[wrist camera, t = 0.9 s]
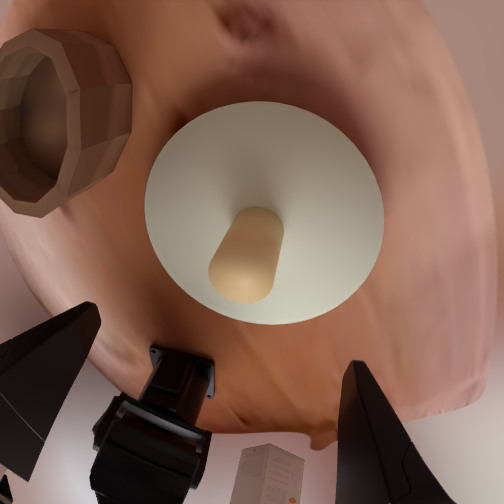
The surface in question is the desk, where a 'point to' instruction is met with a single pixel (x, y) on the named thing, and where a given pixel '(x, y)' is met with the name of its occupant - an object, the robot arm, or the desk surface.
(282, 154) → the lid
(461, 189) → the desk surface
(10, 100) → the box
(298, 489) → the small box
